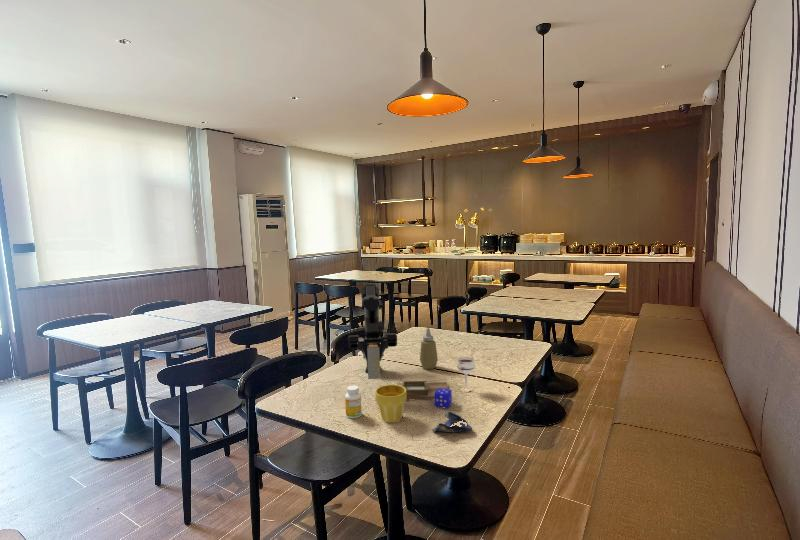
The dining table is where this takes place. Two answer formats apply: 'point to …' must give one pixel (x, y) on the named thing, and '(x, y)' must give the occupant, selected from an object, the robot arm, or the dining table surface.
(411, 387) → the chassis board
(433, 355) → the squeeze bottle
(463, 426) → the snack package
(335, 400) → the dining table surface
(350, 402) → the supplement bottle
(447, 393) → the die
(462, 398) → the dining table surface
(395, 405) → the plant pot
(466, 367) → the wineglass
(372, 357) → the grey faceted pillar
